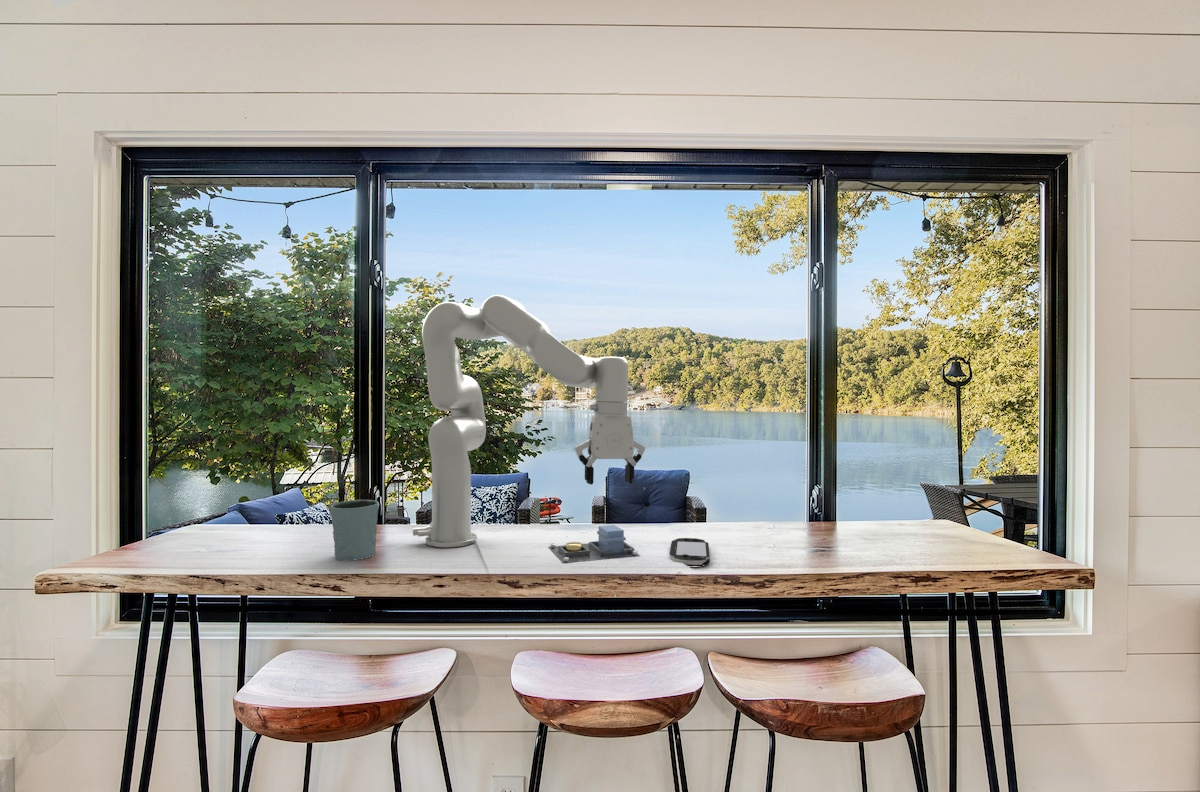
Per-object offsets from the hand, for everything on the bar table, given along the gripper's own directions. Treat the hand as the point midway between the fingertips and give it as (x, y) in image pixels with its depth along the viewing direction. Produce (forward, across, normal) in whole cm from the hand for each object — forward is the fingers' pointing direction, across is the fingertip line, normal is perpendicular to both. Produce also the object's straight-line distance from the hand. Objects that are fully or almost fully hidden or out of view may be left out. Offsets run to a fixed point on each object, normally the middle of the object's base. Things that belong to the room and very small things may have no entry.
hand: (609, 482), depth 132 cm
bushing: (+16, -8, 0) cm, 18 cm away
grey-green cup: (+18, -56, +16) cm, 61 cm away
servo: (+16, +1, 0) cm, 16 cm away
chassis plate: (+17, -4, 0) cm, 17 cm away
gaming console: (+17, +18, -7) cm, 25 cm away
